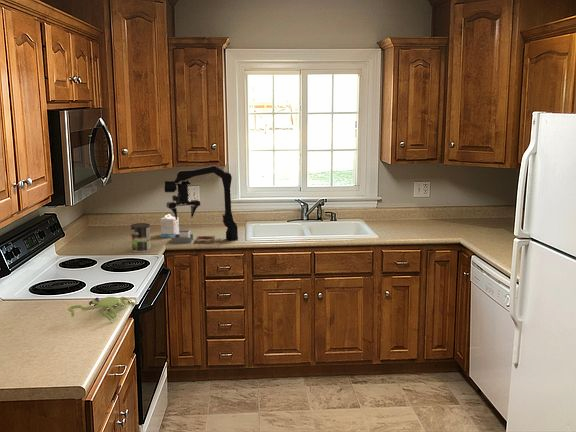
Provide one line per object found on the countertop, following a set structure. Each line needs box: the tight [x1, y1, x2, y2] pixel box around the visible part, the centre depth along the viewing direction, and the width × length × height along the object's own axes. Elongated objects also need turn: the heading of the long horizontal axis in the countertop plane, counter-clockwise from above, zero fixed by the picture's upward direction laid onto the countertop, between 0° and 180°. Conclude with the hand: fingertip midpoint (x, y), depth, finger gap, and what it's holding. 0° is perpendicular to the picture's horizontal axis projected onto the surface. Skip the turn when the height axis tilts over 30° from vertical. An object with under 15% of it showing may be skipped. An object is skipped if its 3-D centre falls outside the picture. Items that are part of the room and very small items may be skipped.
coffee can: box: [130, 222, 152, 253], centre depth 337 cm, size 10×10×14 cm
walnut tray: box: [194, 235, 216, 244], centre depth 357 cm, size 10×12×2 cm
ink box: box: [160, 213, 180, 239], centre depth 370 cm, size 9×8×13 cm
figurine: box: [67, 296, 135, 321], centre depth 239 cm, size 18×27×6 cm
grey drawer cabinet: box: [170, 233, 194, 244], centre depth 357 cm, size 11×11×4 cm
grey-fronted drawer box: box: [179, 228, 191, 238], centre depth 356 cm, size 5×7×7 cm
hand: (184, 218), depth 357 cm, fingers open, 9 cm apart
